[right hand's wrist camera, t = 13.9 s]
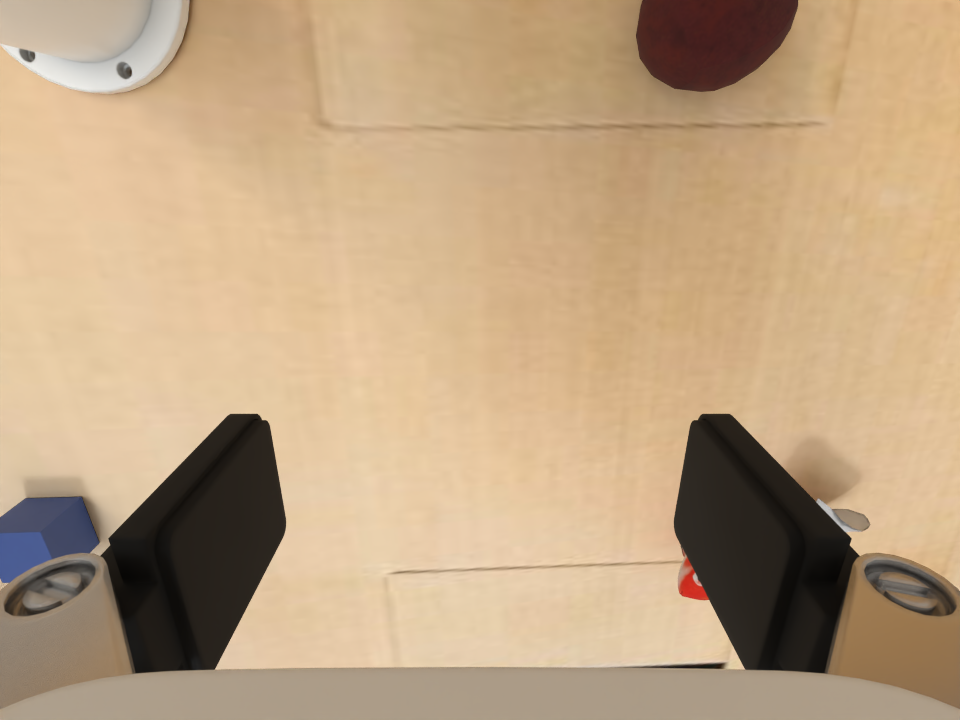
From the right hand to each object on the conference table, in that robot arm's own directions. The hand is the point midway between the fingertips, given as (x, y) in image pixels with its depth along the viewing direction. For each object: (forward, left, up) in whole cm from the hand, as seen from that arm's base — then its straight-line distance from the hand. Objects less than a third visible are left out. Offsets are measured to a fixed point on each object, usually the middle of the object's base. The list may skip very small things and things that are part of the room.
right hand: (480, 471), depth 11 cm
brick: (+8, -41, -26) cm, 49 cm away
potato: (-8, +16, -26) cm, 32 cm away
